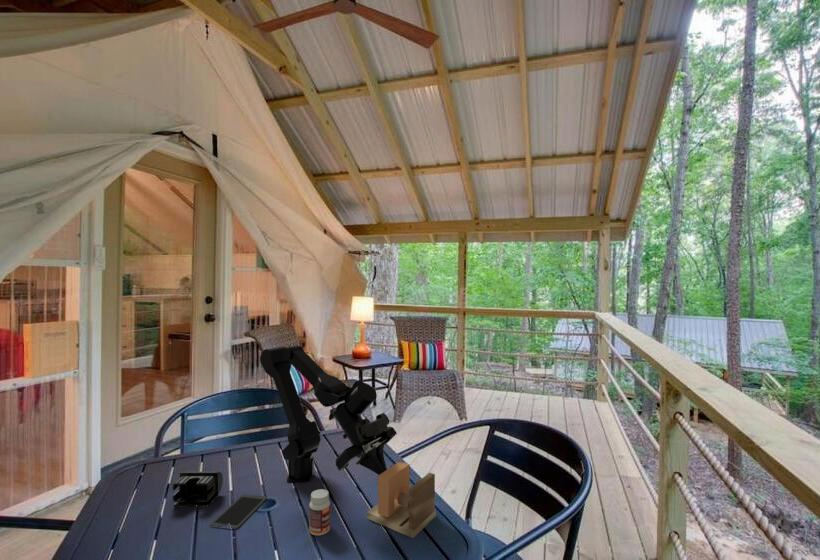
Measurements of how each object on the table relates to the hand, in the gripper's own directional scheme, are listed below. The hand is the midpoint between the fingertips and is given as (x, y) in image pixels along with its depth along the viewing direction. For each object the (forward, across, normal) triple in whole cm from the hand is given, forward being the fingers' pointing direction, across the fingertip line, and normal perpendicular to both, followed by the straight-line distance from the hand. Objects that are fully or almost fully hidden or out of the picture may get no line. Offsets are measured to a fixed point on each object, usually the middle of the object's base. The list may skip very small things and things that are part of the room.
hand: (386, 476), depth 101 cm
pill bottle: (0, -14, +12) cm, 19 cm away
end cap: (-25, -23, +37) cm, 51 cm away
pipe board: (+9, 0, +3) cm, 10 cm away
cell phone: (-15, -20, +28) cm, 37 cm away
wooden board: (+6, 0, +3) cm, 7 cm away
